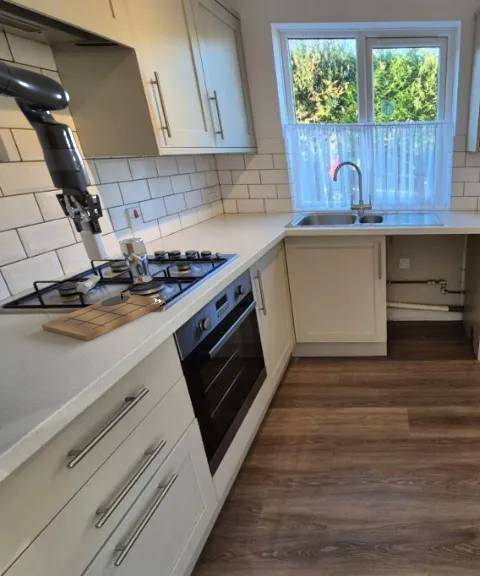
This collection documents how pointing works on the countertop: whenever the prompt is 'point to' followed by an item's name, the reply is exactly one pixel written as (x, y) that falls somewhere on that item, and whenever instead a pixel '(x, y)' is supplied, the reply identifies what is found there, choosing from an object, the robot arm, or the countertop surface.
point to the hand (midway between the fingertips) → (89, 232)
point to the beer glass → (136, 259)
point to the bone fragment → (87, 284)
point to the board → (102, 316)
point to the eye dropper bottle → (93, 242)
